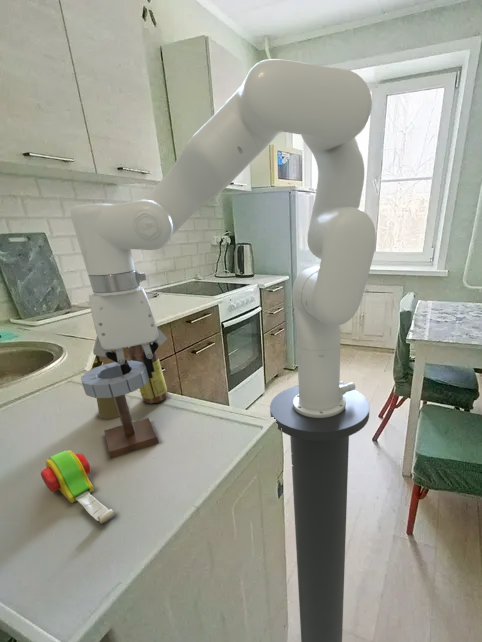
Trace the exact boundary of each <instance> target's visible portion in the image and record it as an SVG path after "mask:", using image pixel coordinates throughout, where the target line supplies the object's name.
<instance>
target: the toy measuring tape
mask: <svg viewBox="0 0 482 642" xmlns="http://www.w3.org/2000/svg"><path fill="white" fill-rule="evenodd" d="M45 466H46V467H45V468H43V469H42V470H41V471H40V475H41V478H42V480H43V483H44V484H45V486H46V488H47V489H48V490H49V491H50V492H55V491H57V490H59V492H60V493H61V494H62V495H63V496H64V497H65V498H66V499H67V500H68V502H69V503H71V504H73V503H75V502H78V503H79V504H80V505H81V506H82V507H83V508H84V510H85V511H86V513H88V514H89V515H90V516H91V518H93V519H94V520H95V521H96V522H99V524H100V525H103V524H105V523H106V522H107V521H109V520H110V519H112V518H113V517H115V516H116V514H115V511H114V509H111V508H108V507H107V506H105V505H104V504H103V503H101V502H100V501H99V500H98V499H97V498H95V496H93V495H92V494H91V493H93V492H95V489H94V486H93V484H92V482H91V481H90V479H89V477H88V475H89V474H90V473H91V471H92V469H91V465H90V462H89V460H88V459H87V457H86V456H85V455H84V454H83V453H81V452H79V453H76V454H75V453H74V452H73V451H72V450H70V449H69V450H62V451H61V452H59V453H56V454H53V455H51V456H50V457H48V459H47V460H45Z"/></svg>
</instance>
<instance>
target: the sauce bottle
mask: <svg viewBox="0 0 482 642" xmlns="http://www.w3.org/2000/svg"><path fill="white" fill-rule="evenodd" d="M150 343H151V342H150ZM150 343H149V344H150ZM143 353H144V352H143V349H142V347H141V345H136V346H131V347H129V348H128V355H129V359H130V361H138V362H143V359H142V357H143ZM152 362H153V367H154V371H155V372H152V376H153V378H149V380H148V382H147V383H146V384H145V385H144V386H143V387H141V388H139V389H138V390H139V392H140V396H141V397H142V400H143V402H145V403H146V404H158V403H160V402H163V401H165V400H166V399H167V398H168V396H169V392H168V387H167V384H166V380H165V377H164V373H163V369H162V365H161V362H160V358H159V356H158V353H157V350H156V351H155V353H154V354H153V357H152Z"/></svg>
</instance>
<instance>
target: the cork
mask: <svg viewBox="0 0 482 642" xmlns="http://www.w3.org/2000/svg"><path fill="white" fill-rule="evenodd" d="M96 403H97V410H98V416H99V418H101V419H103V420H109V419H110V420H111V419H114V418H117V417H120V416H119V413H118V410H117V406H116V403H115V400H114V396H113V397H112V398H96Z"/></svg>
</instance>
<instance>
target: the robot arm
mask: <svg viewBox="0 0 482 642" xmlns="http://www.w3.org/2000/svg"><path fill="white" fill-rule="evenodd" d="M372 108H373V99H372V94H371V91H370V88H369V86H368V84H367V82H366V81H365V79H363V77H362V76H360V75H359V74H357V73H356V72H354V71H353V70H350V69H346V68H342V67H335V66H327V65H321V64H315V63H309V62H304V61H297V60H290V59H281V58H270V59H263V60H261V61H259V62H257V63H255V64H254V65H253V66H252V67H251V68H250V69H249V71H248V72H247V75H246V76H245V78H244V80H243V82H242V84H241V85H240V86H239V88H237V90H236V91H235V92H234V93H232V95H231V96H230V97H229V98H228V99H227V100H226V101H225V102H224V103H223V105H222V106H221V107H219V109H218V110H217V111H216V112H215V113H214V114H213V115H212V116H211V117H210V118H209V119H208V120H207V121H206V122H205V123H203V125H202V126H201V127H200V128H199V129H198V130H197V131H196V132H195V133H194V134H193V135H192V136H191V137H190V138H189V140H188V141H187V142H186V144H185V145H184V146H183V148H182V150H181V151H180V153H179V155H178V157H177V159H176V161H175V162H174V163H173V165H172V166H171V168H170V169H169V171H168V172H167V173H166V174H165V175H164V176H163V178H162V179H161V180H160V181H159V182H158V183H157V184H156V185H155V186H154V187H153V188H152V189H151V190H150V191H149V193H147V195H146V196H145V197H144V198H142V199H137V200H132V201H128V202H127V201H126V202H122V203H116V204H115V203H114V204H113V203H86V204H83V203H82V204H77V205H74V206H73V207H72V208H71V210H70V217H71V221H72V224H73V228H74V231H75V235H76V238H77V242H78V245H79V249H80V252H81V256H82V258H83V262H84V265H85V269H86V273H87V277H88V279H89V283H90V286H91V290H92V293H91V292H90V293H89V294H88V298H89V299H88V300H89V307H90V312H91V317H92V322H93V325H94V329H95V333H96V338H95V341H94V345H93V349H92V353H93V355H94V356H96V357H102V358H106V359H109V360H111V361H113V362H117V363H118V364H119V365H120V367H121V371H122V374H123V375H125V374H127V373H129V372H130V367H129V364H128V362H127V361H128V360H127V359H126V357H125V353H124V349H127V348H130V347H131V346H136V345H141V347H142V349H143V352H144V353H143V357H142V359H143V363H144V364H145V366H146V369H147V373H148V377H149V378H153V376H152V372H155V371H154V367H153V362H152V357H153V354H154V353H155V351H156V352H157V350H158V349H159V347H161V345H163V344H164V343H166V341H167V340H168V337H167V336H166V335H165V333H163V332H162V330H161V329H160V328H159V327H158V326H157V322H156V320H155V319H156V318H155V315H154V312H153V309H152V306H151V303H150V301H149V297H148V295H147V293H146V290H145V289H144V287H143V286H140V285H141V283H142V282H144V281H147V276H146V273H145V272H138V271H137V270H136V267H135V263H134V257H133V253H132V250H143V251H154V250H155V251H157V250H159V249H162V248H164V247H165V246H166V245H168V243H169V242H170V241H171V239H172V237H173V236H174V234H176V233H177V231H179V229H180V228H182V226H184V225H185V224H186V222H187V221H188V220H189V219H190V218H192V216H193V215H194V214H195V213H197V212H198V211H199V210H200V209H201V208H202V207H203V206H204V205H205V204H207V203H208V202H209V201H210V200H212V199H214V198H215V197H217V196H218V195H220V194H221V193H222V192H223V191H224V190H225V189H226V188H227V187H229V186H230V185H231V183H232V182H233V181H234V180H235V179H237V177H238V176H239V175H240V174H241V173H242V172H243V171H244V170H245V169H246V168H247V167H248V166H249V165H250V164H251V163H252V162H253V161H254V160H255V159H256V158H257V157H258V156H260V155H261V153H262V152H263V151H264V150H265V149H266V148H267V147H268V146H269V145H270V144H272V142H273V141H274V140H276V138H277V137H278V136H279V135H280V134H281V133H289V134H295V135H301V138H302V140H303V142H304V143H305V144H306V146H307V147H308V149H309V150H310V152H311V154H312V155H313V157H314V159H315V163H316V165H317V183H316V192H315V197H314V202H313V207H312V212H311V215H310V216H311V217H310V222H309V226H308V231H307V246H308V249H309V251H310V252H311V254H312V255H313V256H315V257H316V258H318V259H319V260H320V263H319V266H312V267H311V266H310V267H308V268H306V269H304V270H302V271H300V273H299V274H298V275H297V276H296V278H295V280H294V282H293V285H292V290H291V292H292V293H291V298H292V305H293V306H292V307H293V312H294V319H295V329H296V353H297V372H298V373H297V376H298V377H297V380H298V381H297V382H298V385H299V394H298V395H297V396H295V398H294V399H293V408H294V409H295V410H296V411H297V412H298V413H300V414H301V415H304V416H307V417H313V418H326V417H331V416H334V415H337V414H339V413H340V412H342V411H343V410H344V409H345V407H346V400H345V398H344V397H343V395H344V394H345V393H346V392H349V391H352V390H356V384H355V383H354V382H352V381H351V382H348V383H346V384H345V382H344V381H343V380H341V379H340V377H341V375H340V374H341V325H344V324H346V323H348V322H349V321H350V320H351V319H352V318H354V316H355V315H356V313H357V312H358V310H359V307H360V305H361V303H362V299H363V296H364V293H365V288H366V285H367V282H368V278H369V275H370V270H371V266H372V263H373V260H374V254H375V251H376V245H377V243H376V242H377V233H376V227H375V224H374V222H373V219H372V218H371V217H370V215H369V214H368V213H367V212H366V211H365V210H363V209H361V208H360V205H361V199H362V195H363V189H364V184H365V163H364V158H363V155H362V152H361V151H362V150H361V148H360V146H359V143H358V141H357V139H356V138H357V137H358V136H359V135H360V134H361V133H362V132H363V131H364V129H365V128H366V126H367V125H368V123H369V120H370V119H371V114H372ZM150 342H151V343H150ZM149 343H150V344H149Z"/></svg>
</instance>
